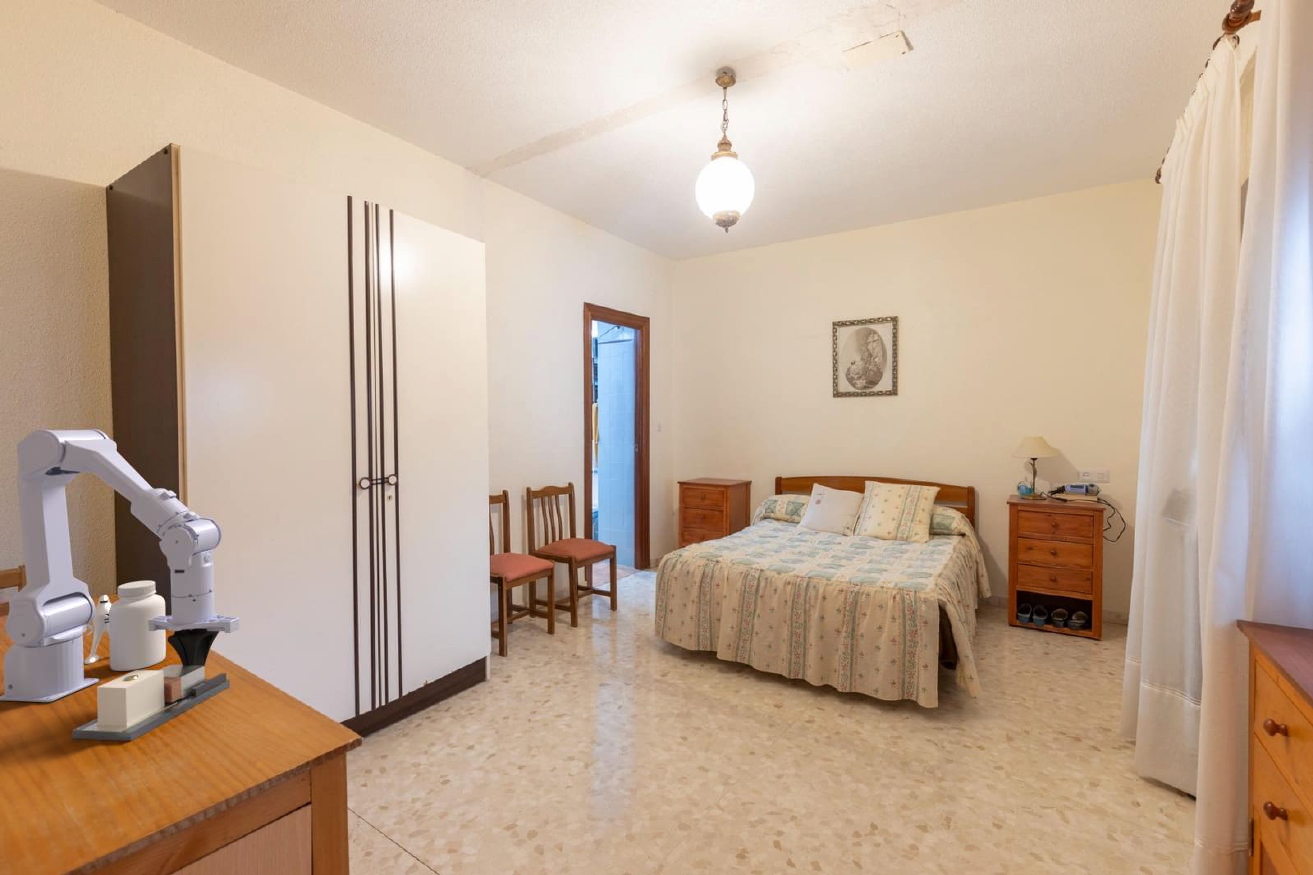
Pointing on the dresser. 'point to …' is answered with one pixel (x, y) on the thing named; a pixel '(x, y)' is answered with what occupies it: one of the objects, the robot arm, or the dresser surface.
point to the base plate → (153, 714)
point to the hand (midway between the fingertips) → (195, 673)
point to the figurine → (99, 626)
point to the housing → (130, 697)
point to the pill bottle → (136, 627)
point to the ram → (181, 680)
